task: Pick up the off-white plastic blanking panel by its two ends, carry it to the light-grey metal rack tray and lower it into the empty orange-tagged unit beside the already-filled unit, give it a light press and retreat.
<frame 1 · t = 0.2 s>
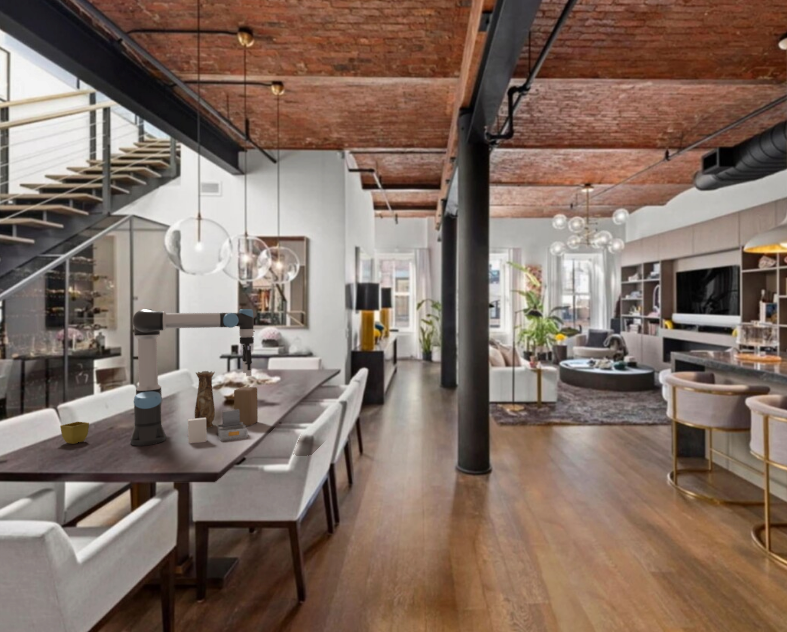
hand: (247, 374, 256), 28 cm above the table, fingers open, 13 cm apart
panel: (197, 441, 223), on the table
flower pot: (75, 442, 223), on the table
rack: (232, 435, 233), on the table
vase: (205, 426, 252), on the table
block: (246, 424, 256), on the table
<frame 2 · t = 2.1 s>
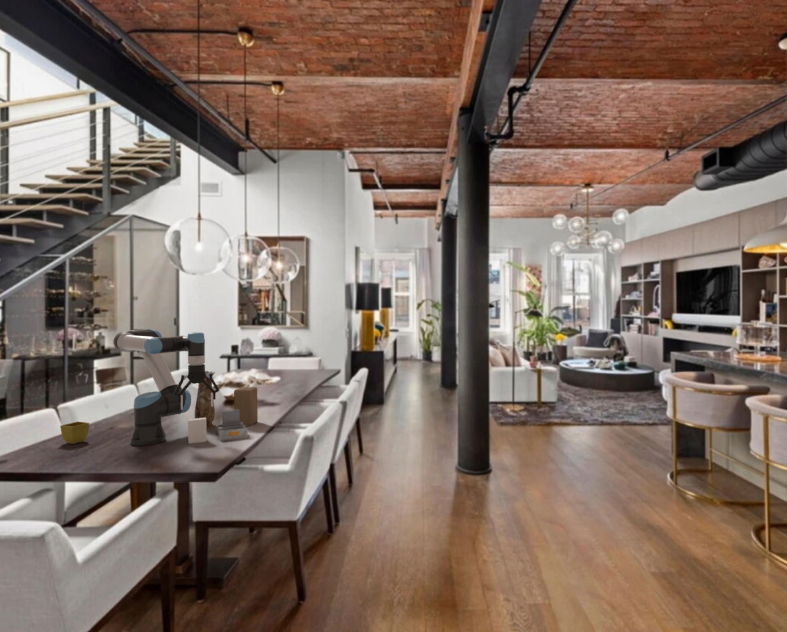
hand: (197, 407, 223), 16 cm above the table, fingers open, 13 cm apart
nothing on the table moved.
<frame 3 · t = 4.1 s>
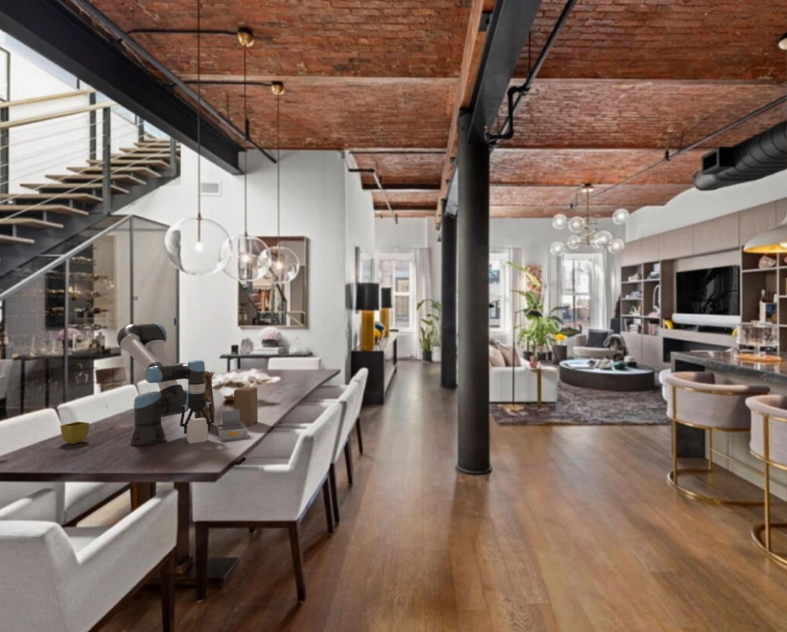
hand: (197, 438, 223), 1 cm above the table, fingers closed on panel, 8 cm apart
panel: (197, 441, 223), on the table, touching gripper
everything else where it was.
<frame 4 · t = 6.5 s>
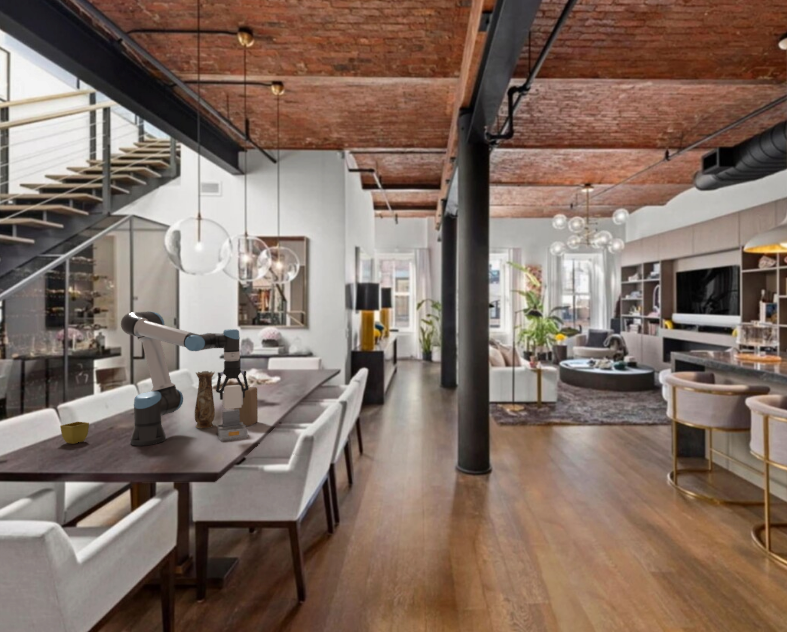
hand: (232, 405, 230), 16 cm above the table, fingers closed on panel, 8 cm apart
panel: (232, 407, 230), point 15 cm above the table, touching gripper
everything else where it was.
when the fingers open (4 cm above the table, at t = 9.1 s): panel drops 1 cm, resting on rack.
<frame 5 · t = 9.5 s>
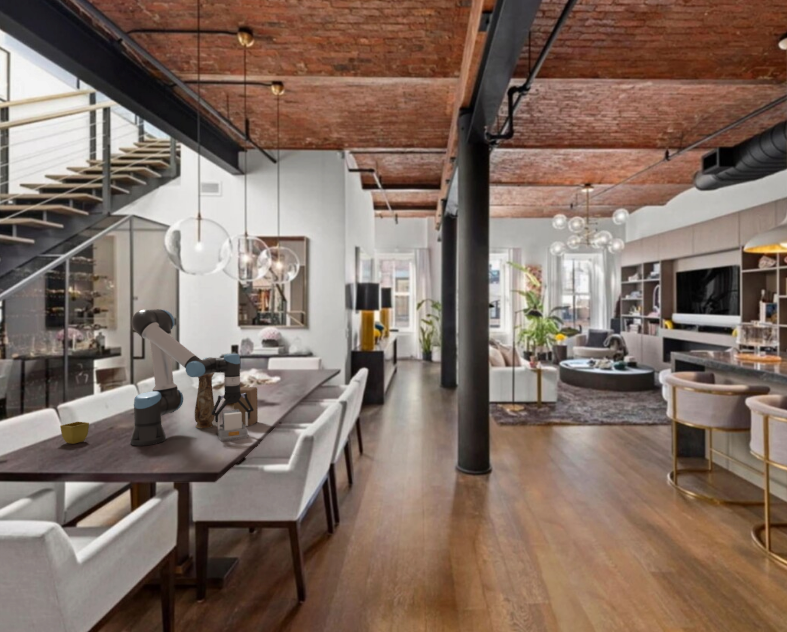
hand: (232, 427, 230), 5 cm above the table, fingers open, 13 cm apart
panel: (233, 435, 230), point 1 cm above the table, touching rack
everything else where it was.
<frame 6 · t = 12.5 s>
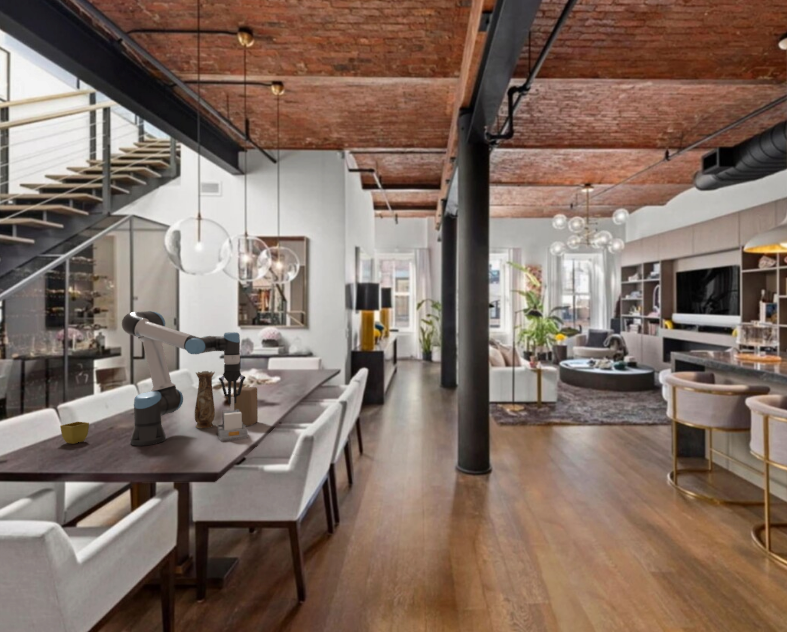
hand: (232, 409, 230), 14 cm above the table, fingers closed
nothing on the table moved.
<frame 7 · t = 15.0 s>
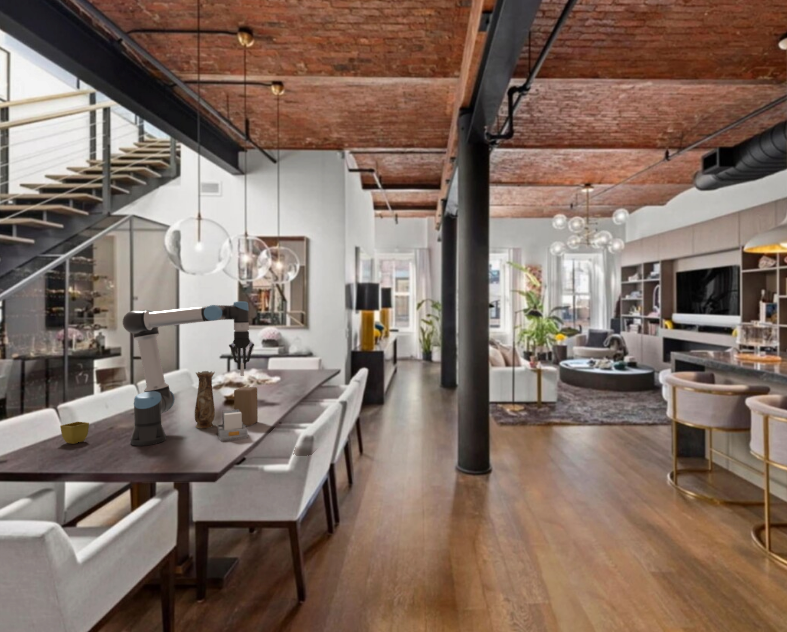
hand: (242, 375, 241), 29 cm above the table, fingers closed
nothing on the table moved.
at the end: panel 0.1 cm from the target spot on the rack, point 1.0 cm above the rack's base; panel tilted 0°; the gripper is holding nothing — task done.
